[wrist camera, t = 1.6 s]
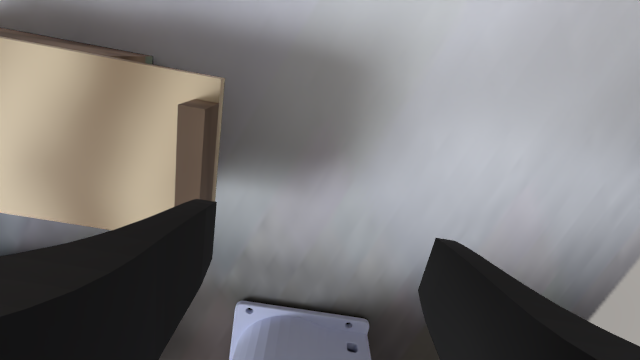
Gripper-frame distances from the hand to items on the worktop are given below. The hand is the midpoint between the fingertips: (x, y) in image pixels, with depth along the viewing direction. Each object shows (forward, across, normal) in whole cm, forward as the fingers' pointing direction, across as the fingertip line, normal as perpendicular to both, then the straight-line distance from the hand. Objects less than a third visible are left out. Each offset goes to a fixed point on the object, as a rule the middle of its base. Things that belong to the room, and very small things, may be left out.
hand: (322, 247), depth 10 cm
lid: (+6, +10, 0) cm, 12 cm away
